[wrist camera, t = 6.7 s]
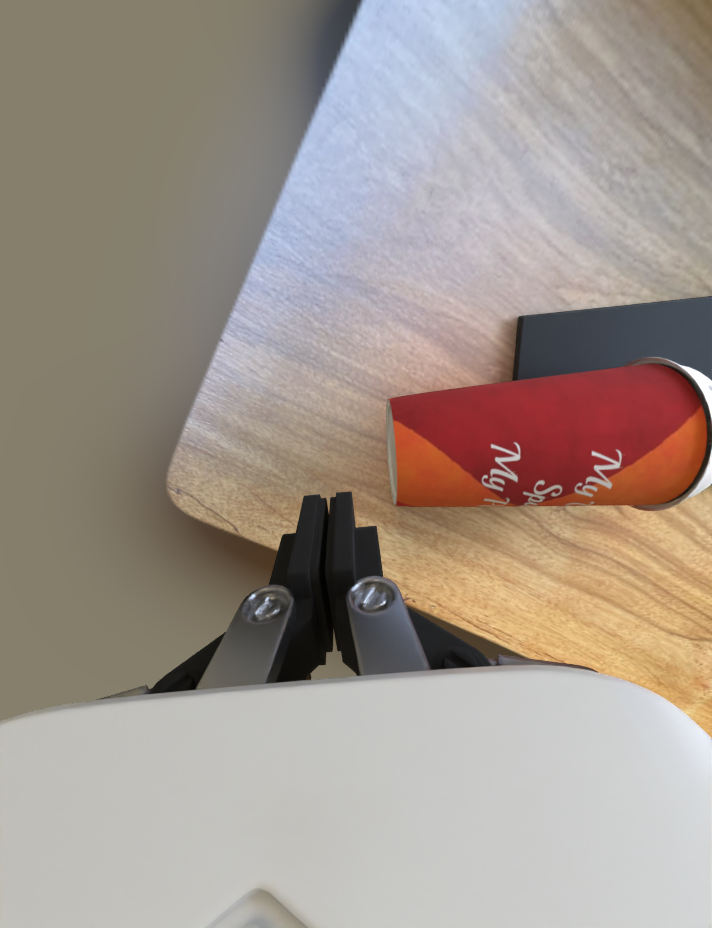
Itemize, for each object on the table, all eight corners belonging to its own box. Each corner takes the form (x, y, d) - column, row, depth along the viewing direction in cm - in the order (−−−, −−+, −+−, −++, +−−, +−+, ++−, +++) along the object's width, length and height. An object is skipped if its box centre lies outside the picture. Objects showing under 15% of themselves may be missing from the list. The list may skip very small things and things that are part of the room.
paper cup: (405, 520, 14) (775, 496, 13) (388, 344, 16) (713, 320, 15) (392, 531, 21) (628, 516, 21) (382, 412, 23) (598, 397, 23)
